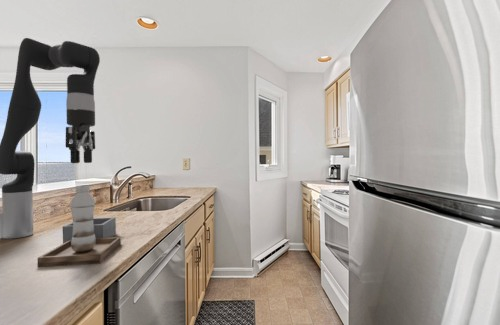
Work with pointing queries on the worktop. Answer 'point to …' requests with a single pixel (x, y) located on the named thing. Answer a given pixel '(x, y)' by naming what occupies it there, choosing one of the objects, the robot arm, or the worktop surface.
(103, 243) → the tray
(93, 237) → the plastic bottle
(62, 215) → the worktop surface
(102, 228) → the holder
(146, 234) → the worktop surface
